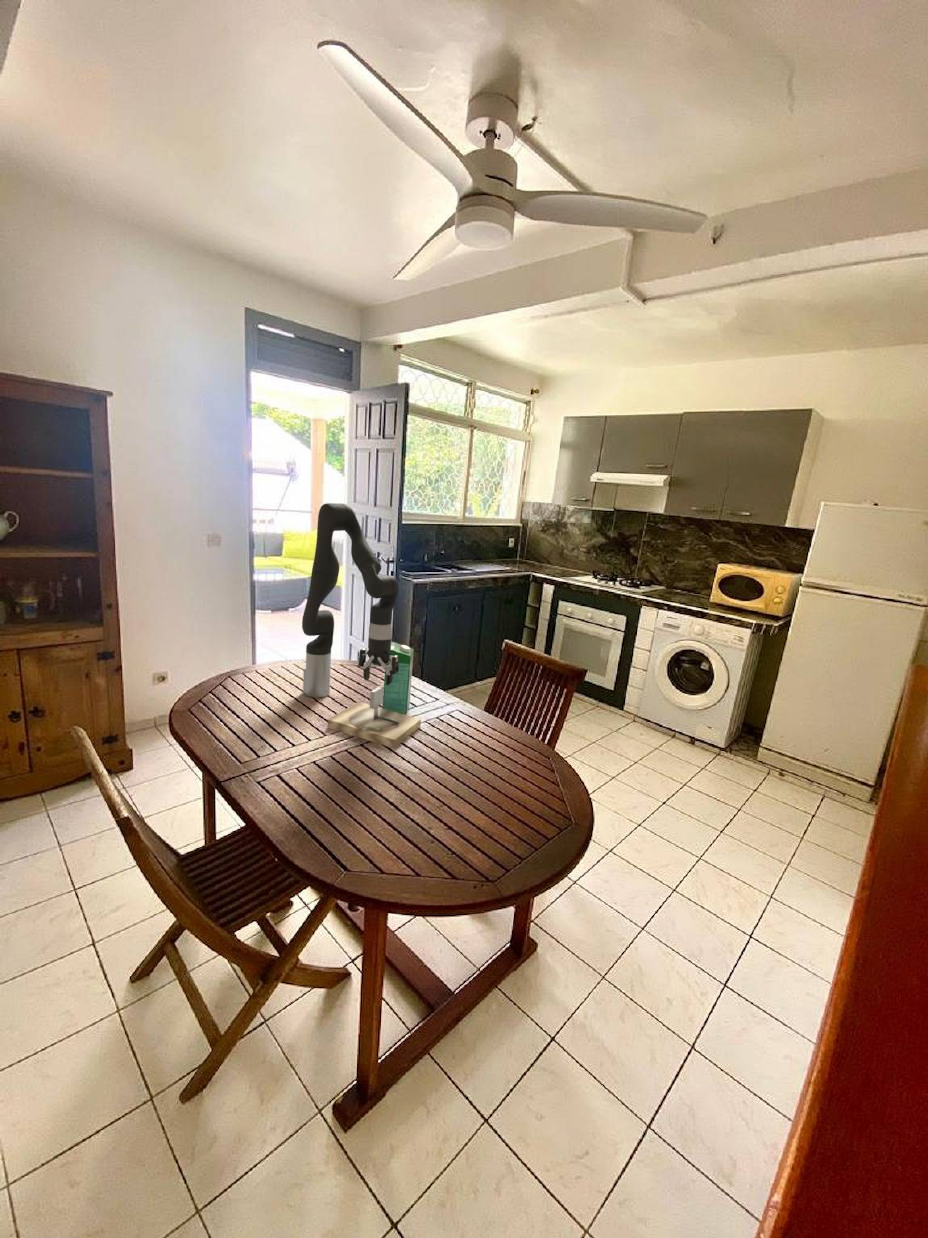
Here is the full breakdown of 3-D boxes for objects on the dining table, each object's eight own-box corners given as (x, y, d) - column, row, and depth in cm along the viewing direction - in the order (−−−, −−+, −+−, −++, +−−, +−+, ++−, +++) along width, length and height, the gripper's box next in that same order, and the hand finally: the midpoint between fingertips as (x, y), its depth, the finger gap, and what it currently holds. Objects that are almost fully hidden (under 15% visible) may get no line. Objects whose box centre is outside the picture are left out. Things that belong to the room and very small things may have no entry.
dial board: (327, 727, 168) (327, 718, 167) (358, 709, 185) (358, 700, 184) (394, 748, 159) (394, 739, 158) (420, 727, 176) (421, 718, 175)
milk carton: (406, 714, 185) (411, 650, 179) (382, 711, 185) (386, 647, 179) (409, 704, 193) (414, 643, 187) (386, 701, 193) (390, 640, 187)
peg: (368, 721, 169) (370, 691, 166) (378, 714, 174) (380, 685, 172) (393, 728, 165) (395, 698, 163) (402, 721, 171) (404, 692, 168)
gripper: (355, 634, 163) (353, 680, 167) (393, 642, 158) (390, 690, 162) (368, 629, 170) (366, 674, 174) (404, 637, 165) (401, 683, 169)
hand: (377, 681), depth 168 cm, fingers open, 8 cm apart
